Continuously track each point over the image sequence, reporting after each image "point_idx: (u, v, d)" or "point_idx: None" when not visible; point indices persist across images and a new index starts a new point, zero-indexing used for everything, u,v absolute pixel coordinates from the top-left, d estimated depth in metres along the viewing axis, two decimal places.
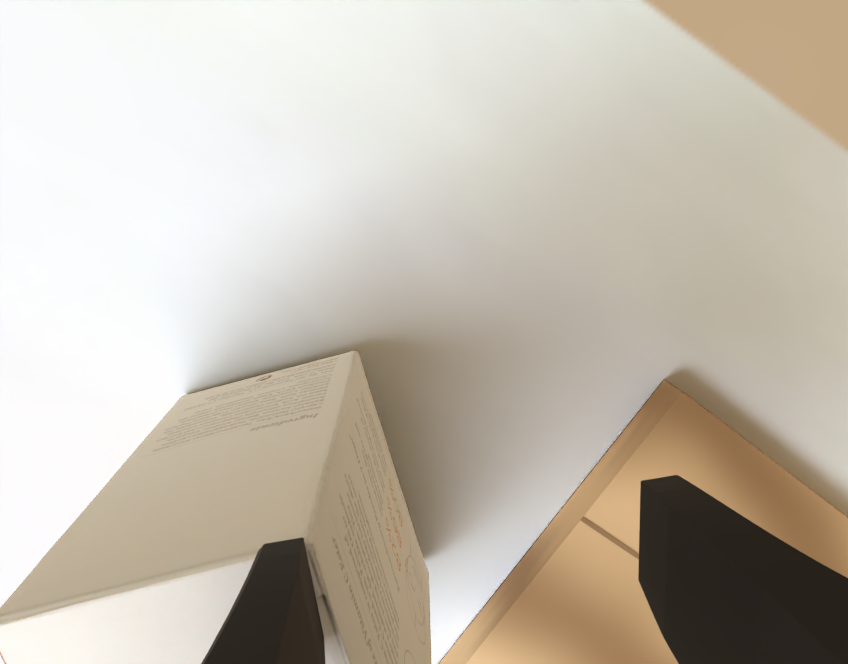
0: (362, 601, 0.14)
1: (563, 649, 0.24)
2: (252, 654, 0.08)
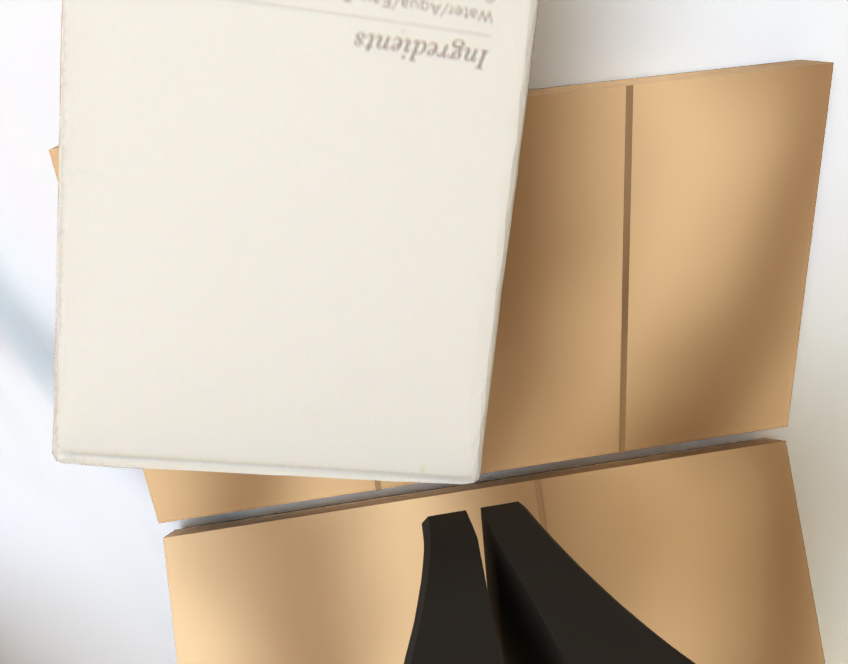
0: None
1: None
2: (466, 616, 0.09)
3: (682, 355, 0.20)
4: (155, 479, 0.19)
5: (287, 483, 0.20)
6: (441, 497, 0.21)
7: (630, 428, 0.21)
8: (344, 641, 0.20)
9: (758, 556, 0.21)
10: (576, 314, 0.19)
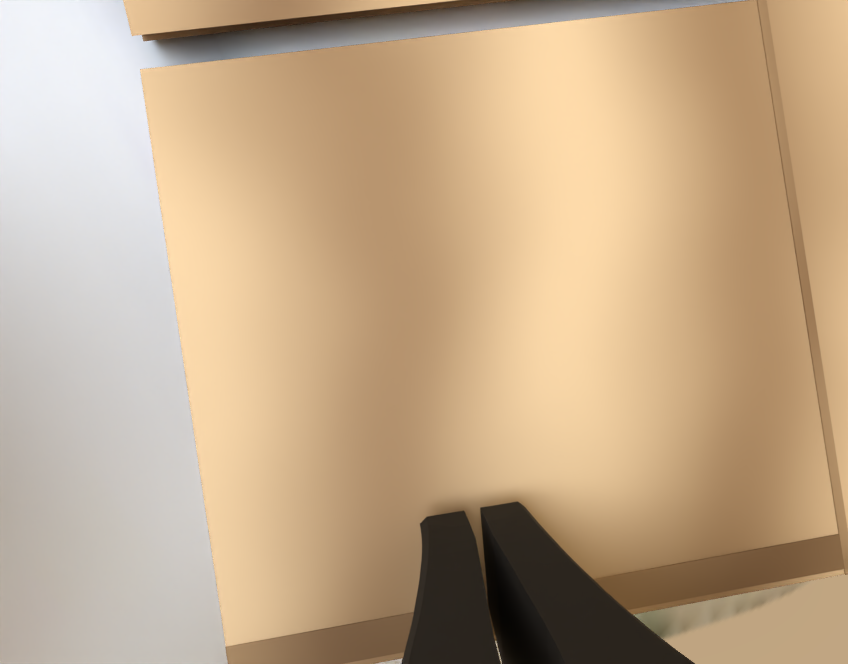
0: None
1: None
2: (463, 616, 0.09)
3: None
4: None
5: None
6: (606, 20, 0.12)
7: None
8: (450, 249, 0.12)
9: None
10: None
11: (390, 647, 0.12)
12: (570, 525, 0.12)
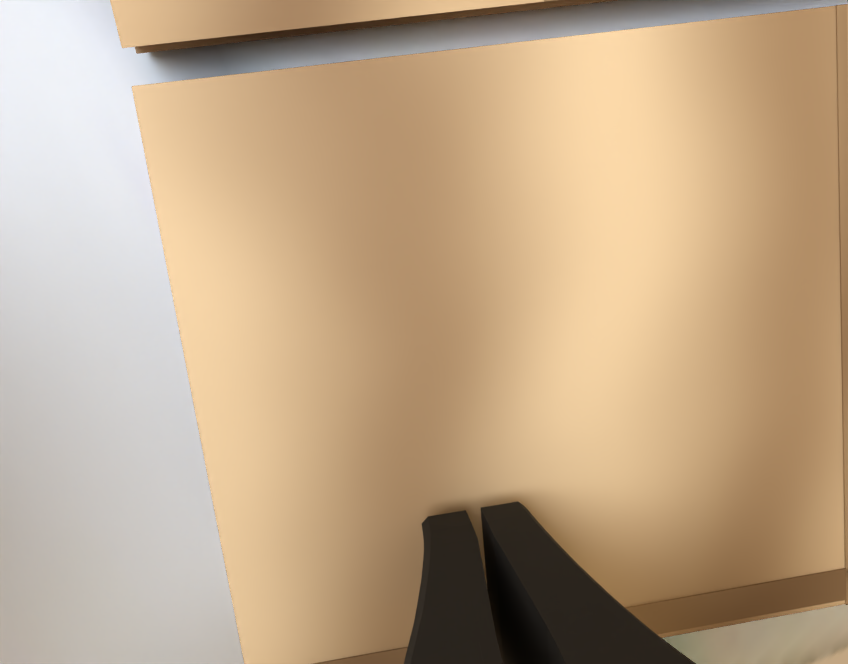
0: None
1: None
2: (466, 616, 0.09)
3: None
4: None
5: None
6: (663, 30, 0.11)
7: None
8: (476, 291, 0.11)
9: None
10: None
11: None
12: (585, 563, 0.12)
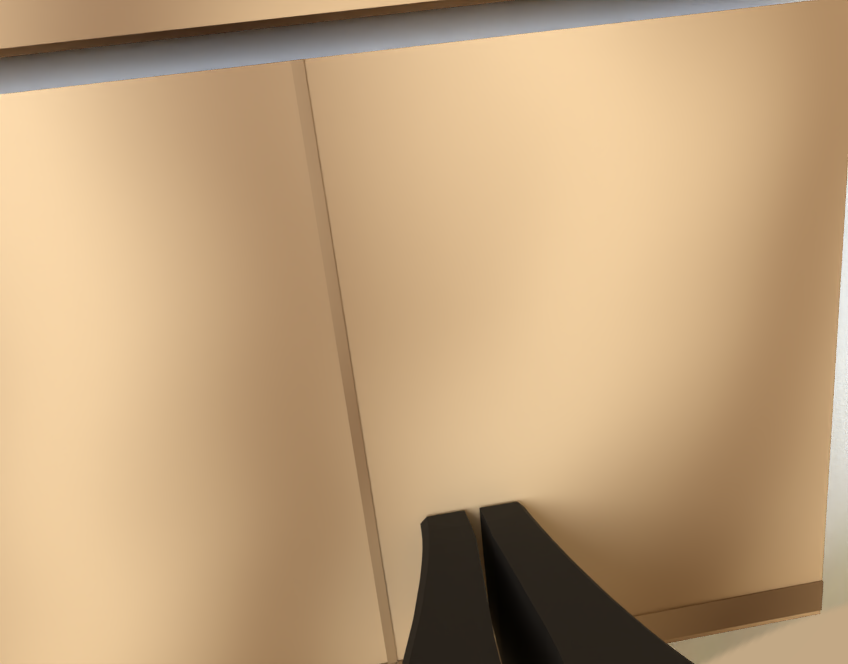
0: None
1: None
2: (464, 616, 0.09)
3: None
4: None
5: None
6: (70, 92, 0.09)
7: None
8: None
9: (752, 240, 0.11)
10: None
11: None
12: None
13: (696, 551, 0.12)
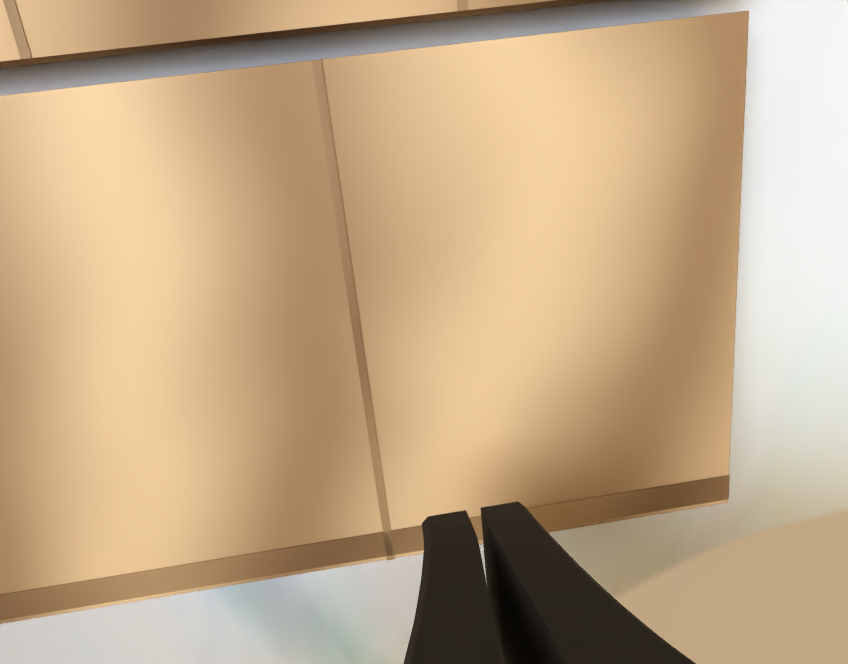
0: None
1: None
2: (466, 616, 0.09)
3: None
4: None
5: None
6: (146, 83, 0.12)
7: None
8: (8, 311, 0.13)
9: (668, 201, 0.14)
10: None
11: (3, 615, 0.15)
12: (147, 530, 0.15)
13: (627, 448, 0.15)
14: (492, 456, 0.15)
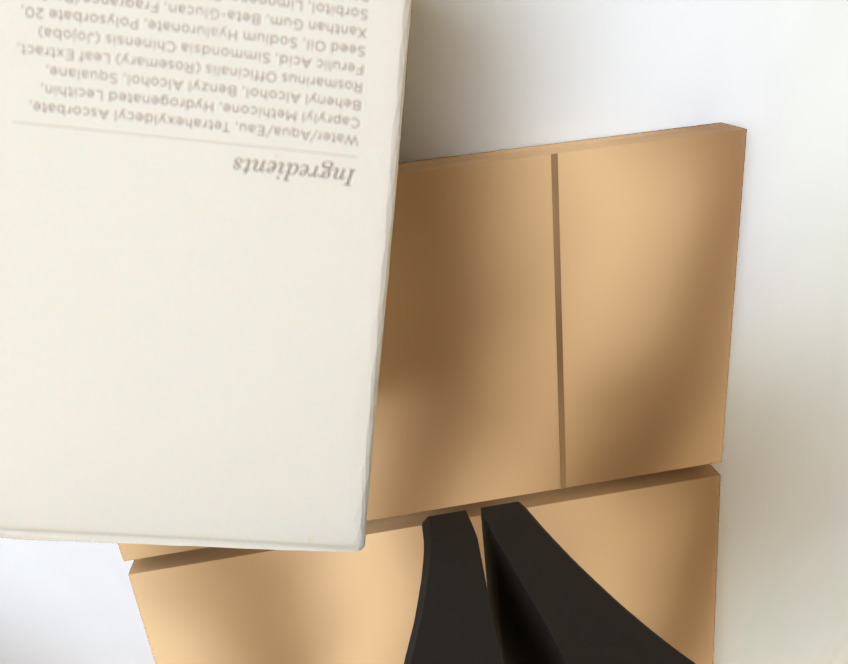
0: None
1: (407, 269, 0.19)
2: (466, 616, 0.09)
3: (617, 398, 0.21)
4: None
5: None
6: (392, 532, 0.22)
7: (570, 466, 0.22)
8: (303, 642, 0.23)
9: (675, 566, 0.24)
10: (513, 362, 0.20)
11: None
12: None
13: None
14: None
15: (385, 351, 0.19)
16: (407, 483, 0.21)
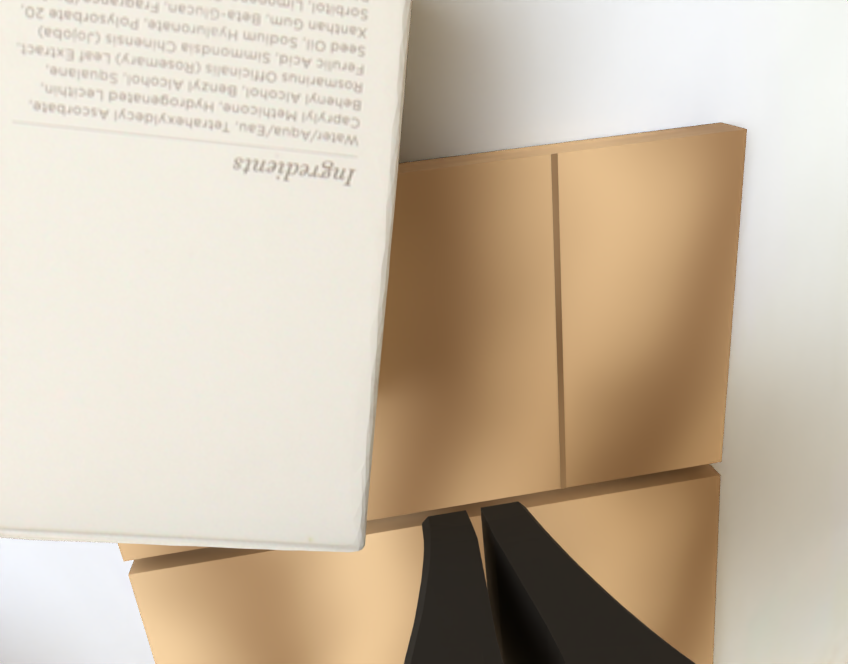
0: None
1: (407, 269, 0.19)
2: (466, 616, 0.09)
3: (617, 398, 0.21)
4: None
5: None
6: (392, 532, 0.22)
7: (570, 466, 0.22)
8: (303, 642, 0.23)
9: (675, 566, 0.24)
10: (513, 362, 0.20)
11: None
12: None
13: None
14: None
15: (385, 351, 0.19)
16: (407, 483, 0.21)
